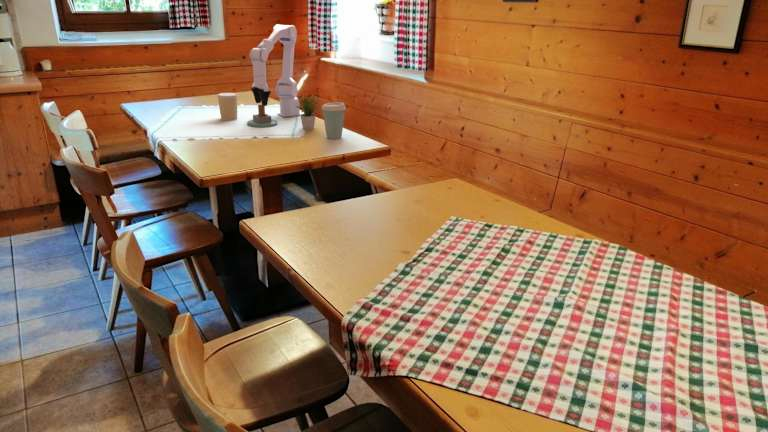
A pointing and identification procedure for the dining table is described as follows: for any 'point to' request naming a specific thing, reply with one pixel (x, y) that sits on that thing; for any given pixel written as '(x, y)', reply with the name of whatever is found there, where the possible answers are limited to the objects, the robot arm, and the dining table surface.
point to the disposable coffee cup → (334, 119)
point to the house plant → (308, 112)
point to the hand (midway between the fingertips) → (261, 104)
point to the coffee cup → (228, 106)
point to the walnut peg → (261, 110)
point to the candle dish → (262, 121)
